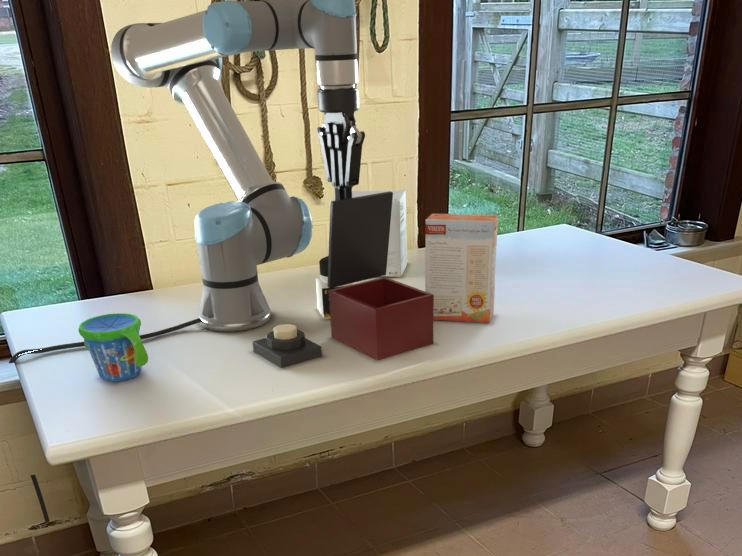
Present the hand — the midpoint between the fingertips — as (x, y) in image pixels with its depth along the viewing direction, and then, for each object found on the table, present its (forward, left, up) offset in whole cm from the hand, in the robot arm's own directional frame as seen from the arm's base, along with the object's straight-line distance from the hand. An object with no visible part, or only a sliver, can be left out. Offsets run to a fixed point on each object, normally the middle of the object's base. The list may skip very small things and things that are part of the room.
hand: (344, 222), depth 155 cm
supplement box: (+9, +41, -21) cm, 47 cm away
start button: (-13, -14, -17) cm, 26 cm away
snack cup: (-44, -19, -21) cm, 53 cm away
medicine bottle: (-2, +9, -21) cm, 23 cm away
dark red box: (+6, -10, -21) cm, 24 cm away
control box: (-13, -14, -21) cm, 28 cm away
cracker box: (+24, +1, -21) cm, 32 cm away
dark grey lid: (+3, -5, -3) cm, 6 cm away
